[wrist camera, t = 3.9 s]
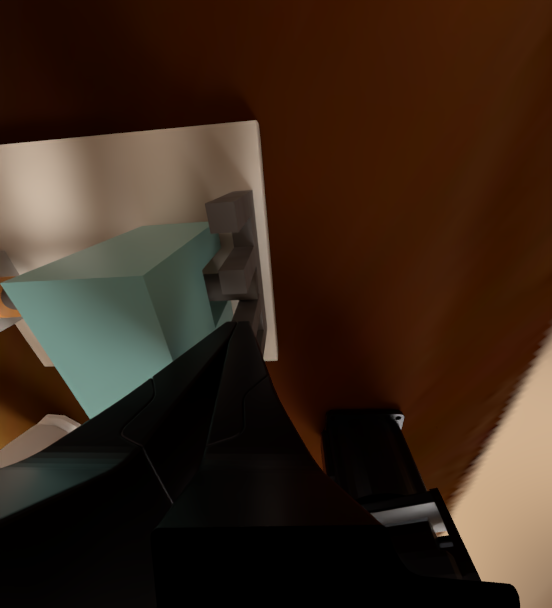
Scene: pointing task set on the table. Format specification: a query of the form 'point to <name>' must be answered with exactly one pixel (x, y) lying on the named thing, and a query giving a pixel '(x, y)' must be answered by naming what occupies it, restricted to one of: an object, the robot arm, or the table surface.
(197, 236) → the teal block
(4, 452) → the cup
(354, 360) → the table surface
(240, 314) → the cord board
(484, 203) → the table surface
